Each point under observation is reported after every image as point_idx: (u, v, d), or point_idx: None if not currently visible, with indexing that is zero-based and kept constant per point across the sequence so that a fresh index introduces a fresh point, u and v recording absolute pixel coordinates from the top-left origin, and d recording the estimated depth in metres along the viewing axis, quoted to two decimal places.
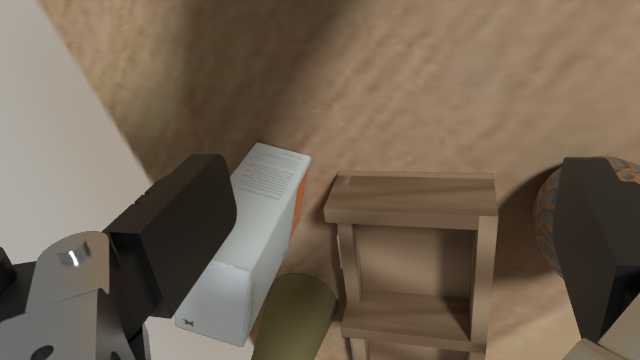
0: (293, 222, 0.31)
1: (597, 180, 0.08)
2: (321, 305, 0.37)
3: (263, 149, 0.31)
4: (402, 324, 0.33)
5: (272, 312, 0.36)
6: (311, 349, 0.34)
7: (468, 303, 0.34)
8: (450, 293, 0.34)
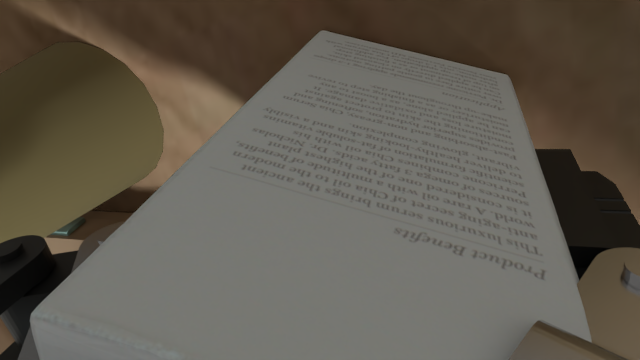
0: None
1: (559, 170, 0.09)
2: (117, 192, 0.17)
3: None
4: None
5: (62, 128, 0.14)
6: None
7: None
8: None
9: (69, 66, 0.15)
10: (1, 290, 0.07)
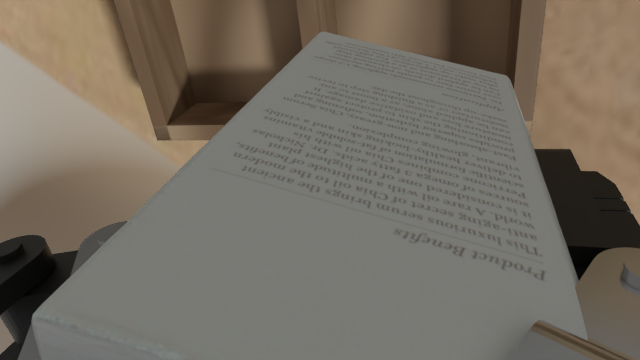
0: None
1: (558, 170, 0.09)
2: None
3: None
4: None
5: None
6: None
7: None
8: None
9: None
10: (1, 290, 0.07)
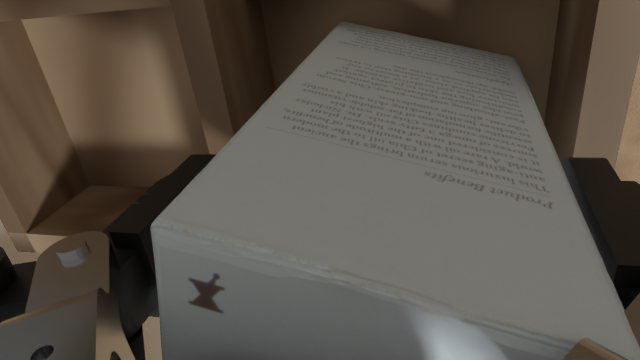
0: None
1: (597, 180, 0.08)
2: None
3: None
4: (243, 118, 0.15)
5: None
6: None
7: None
8: None
9: None
10: None
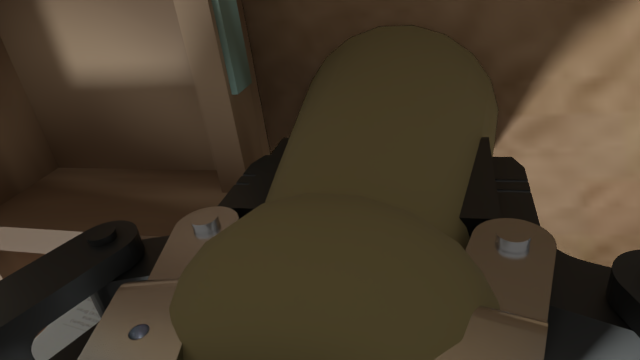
0: None
1: None
2: None
3: None
4: None
5: None
6: None
7: None
8: None
9: None
10: (87, 276, 0.08)
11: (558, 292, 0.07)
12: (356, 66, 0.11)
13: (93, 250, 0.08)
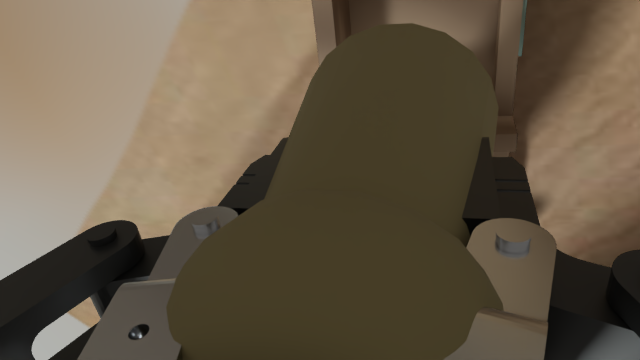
0: None
1: None
2: None
3: None
4: None
5: None
6: None
7: None
8: None
9: None
10: (87, 276, 0.08)
11: (558, 292, 0.07)
12: (355, 64, 0.11)
13: (93, 250, 0.08)
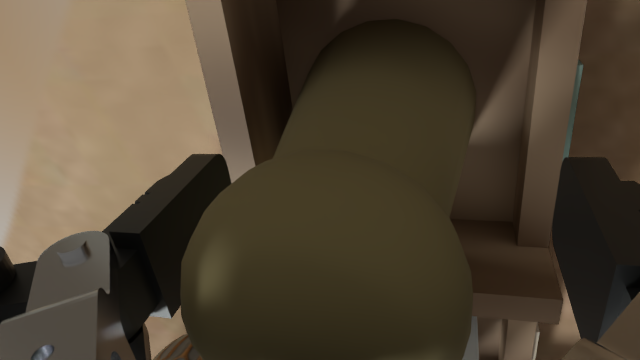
0: None
1: (596, 180, 0.08)
2: None
3: None
4: None
5: None
6: None
7: None
8: None
9: None
10: None
11: None
12: (345, 55, 0.13)
13: None
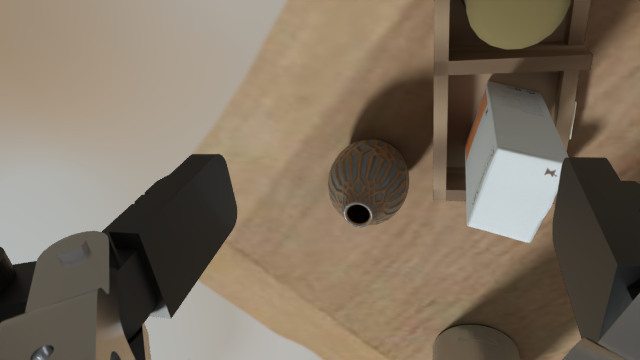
0: (477, 125, 0.34)
1: (597, 180, 0.08)
2: None
3: None
4: None
5: None
6: None
7: None
8: None
9: None
10: None
11: None
12: None
13: None
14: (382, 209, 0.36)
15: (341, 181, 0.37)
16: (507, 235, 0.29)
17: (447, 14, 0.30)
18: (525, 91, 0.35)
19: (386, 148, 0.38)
